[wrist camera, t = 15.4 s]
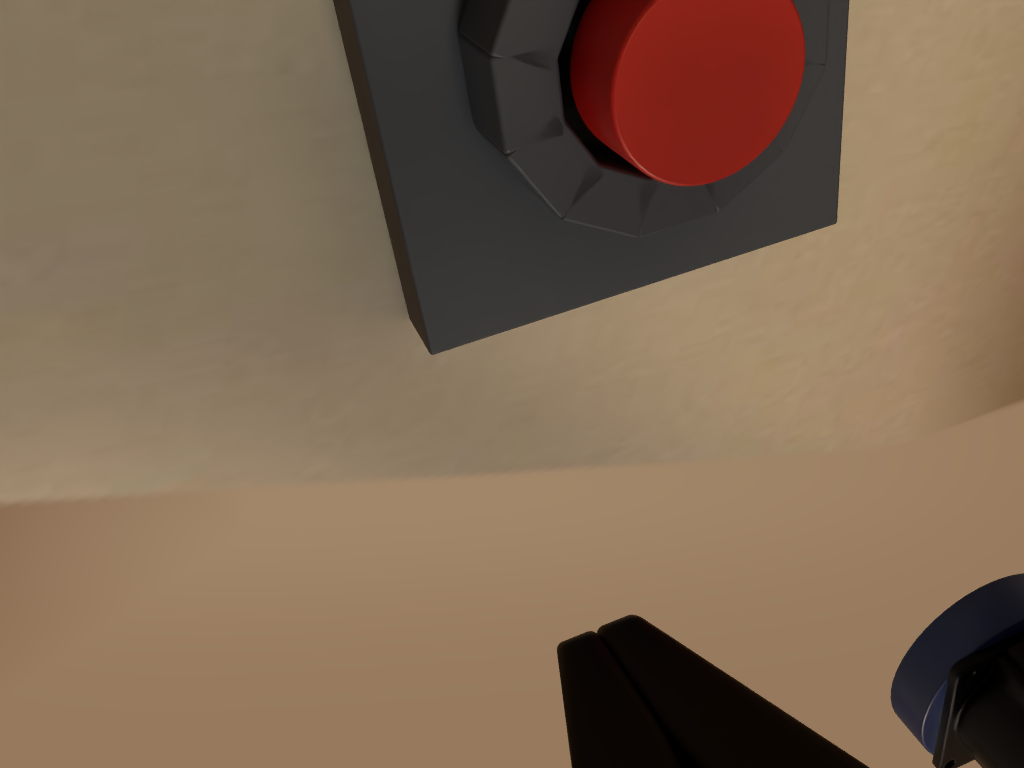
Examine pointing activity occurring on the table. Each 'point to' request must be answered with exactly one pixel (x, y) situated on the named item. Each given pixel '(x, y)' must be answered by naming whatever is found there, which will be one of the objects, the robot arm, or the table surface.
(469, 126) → the button block
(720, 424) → the table surface
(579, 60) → the button
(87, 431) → the table surface
